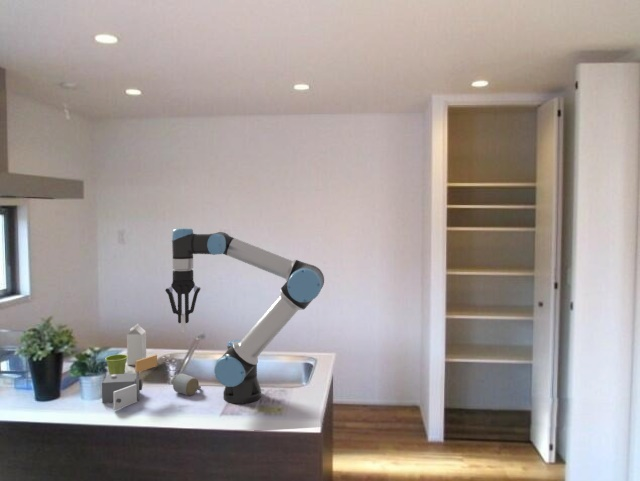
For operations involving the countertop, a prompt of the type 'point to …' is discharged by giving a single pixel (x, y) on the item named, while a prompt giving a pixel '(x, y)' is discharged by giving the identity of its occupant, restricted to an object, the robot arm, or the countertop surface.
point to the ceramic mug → (186, 384)
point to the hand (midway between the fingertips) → (183, 331)
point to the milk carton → (136, 344)
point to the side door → (132, 392)
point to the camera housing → (117, 385)
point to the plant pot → (116, 363)
